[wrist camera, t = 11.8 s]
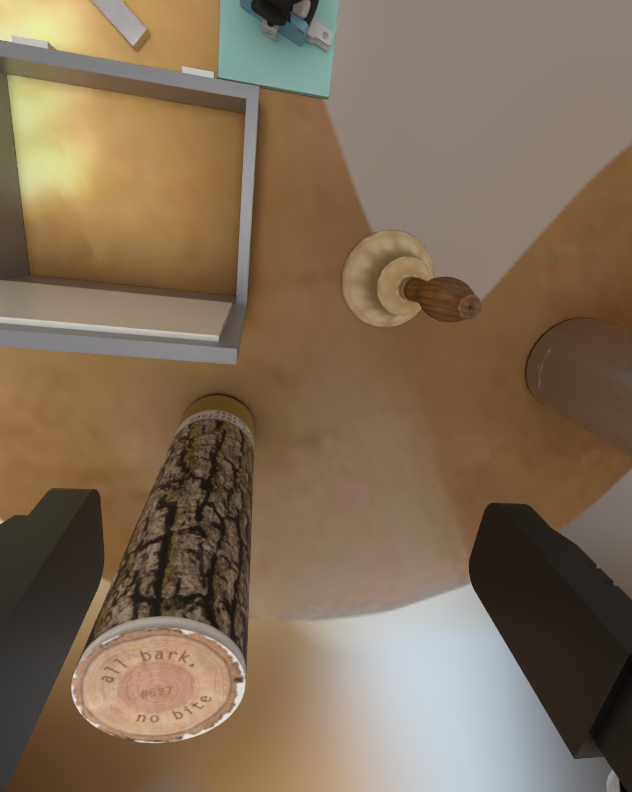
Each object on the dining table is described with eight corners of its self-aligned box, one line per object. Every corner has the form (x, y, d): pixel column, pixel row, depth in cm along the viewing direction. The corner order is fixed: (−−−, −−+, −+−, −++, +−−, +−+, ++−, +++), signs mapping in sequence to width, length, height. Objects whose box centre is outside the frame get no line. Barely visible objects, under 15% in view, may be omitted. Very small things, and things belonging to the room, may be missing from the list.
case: (260, 95, 31) (258, -45, 15) (247, 313, 37) (236, 376, 21) (-23, 46, 28) (-384, -190, 12) (10, 290, 34) (-210, 343, 18)
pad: (342, -38, 29) (344, -44, 28) (327, 99, 32) (328, 97, 31) (223, -66, 28) (222, -72, 27) (218, 80, 30) (218, 77, 30)
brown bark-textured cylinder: (176, 395, 39) (50, 640, 16) (251, 389, 39) (237, 616, 16) (187, 459, 41) (92, 754, 18) (257, 453, 42) (252, 730, 19)
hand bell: (325, 257, 36) (370, 275, 21) (414, 211, 35) (523, 198, 21) (362, 342, 39) (424, 410, 24) (445, 301, 38) (559, 345, 24)
